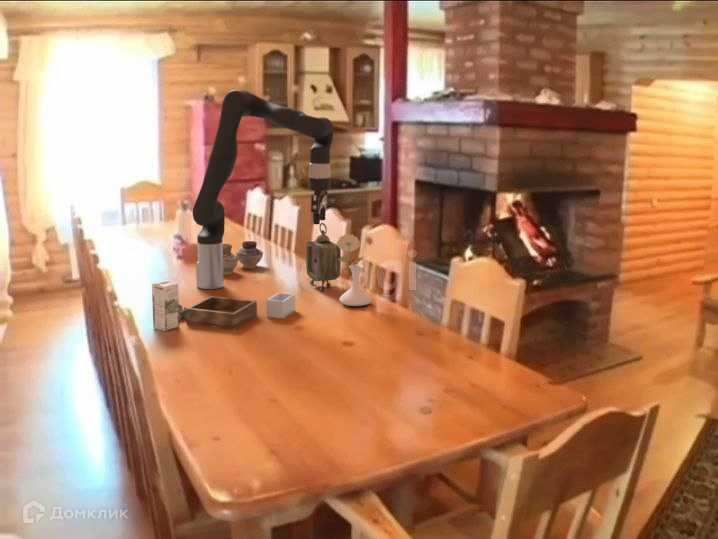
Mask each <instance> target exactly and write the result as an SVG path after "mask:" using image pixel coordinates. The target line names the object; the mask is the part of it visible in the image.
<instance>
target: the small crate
mask: <svg viewBox="0 0 718 539" xmlns="http://www.w3.org/2000/svg"><path fill="white" fill-rule="evenodd" d="M265 301H266V302H265V303H266V305H265V306H266V307H265V309H266V312H265V313H266V314H265V315H266V317H267V318H273V317H274V318H275V319H280V318H281V320H282V319H283V318H284V319H285V318H287V317H288V316H290V315H292V313H294V312H296V294H295V293H287V292H277V293H275V294H273V295H272V296H270V297H269V298H267V299H266V300H265ZM289 314H290V315H289ZM286 316H287V317H286ZM274 318H273V319H274ZM284 319H283V320H284Z"/></svg>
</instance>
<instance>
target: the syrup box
mask: <svg viewBox="0 0 718 539" xmlns="http://www.w3.org/2000/svg"><path fill="white" fill-rule="evenodd" d="M151 297H152V298H151V300H152V318H153V319H152V326H153V329H156V330H158V331H164V332H167V331H170V330H171V331H172V330H173V329H178V328H180V320H179V304H180V303H179V283H177V282H175V281H171V280H163V281H159V282H155V283H152V284H151Z"/></svg>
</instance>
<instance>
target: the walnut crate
mask: <svg viewBox="0 0 718 539" xmlns="http://www.w3.org/2000/svg"><path fill="white" fill-rule="evenodd" d="M257 302H258V301H256V300H251V299H249V300H248V299H239V298H231V297H221V296H214V295H210V296H208V297H207V298H204V299H202V300H200V301H199V302H196V303H194V304H192V305H191V306H188V307H186V317H185V320H186V324H188V325H195V326H204V327H209V328H210V327H213V328H219V329H228V330H237V329H238V328H239V327H241V326H243V325H244V324H247V322H249V321H250V320H253V319H255V317H257V315H258V310H257V309H258V304H257Z"/></svg>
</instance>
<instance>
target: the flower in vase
mask: <svg viewBox="0 0 718 539" xmlns="http://www.w3.org/2000/svg"><path fill="white" fill-rule="evenodd" d="M336 244H337V245H338V247H339V249H340V251H344V252H348V253H347V254H348V256H345V255H341V258H339V259H338V261H341V263H342V262H343V263H347V262H348V261H349V260H350V262H351V263H352V264H350V265H349V266H348V267H349V269H350V271H351V274H352V283H351V284H352V285H351V287H350V288H349V289H347V291H345V292H344V293H343V294H342V295H341V296H339V302H340V303H341V304H343V305H345V306H350V307H362V306H366V305H369V304H371V302H372V300H373V299H372V297H371V295H369V294H368V293H367V292H366V291H365V290H363V289H362V287H361V286H360V276H361V275H360V274H361V271H362V270H363V268H364V266H363V265H361V264H356V263H360V262H361V261H362V260H363V258H364V255H363V256H360V257H358V258H355V260H352V258H351V257H350V252H354V251H357V250H358V248H360V246H361V242H360V240H359V238H358V236H355V235H354V234H343V235H341V236H340V237H339V238H338V240H337V242H336Z"/></svg>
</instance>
